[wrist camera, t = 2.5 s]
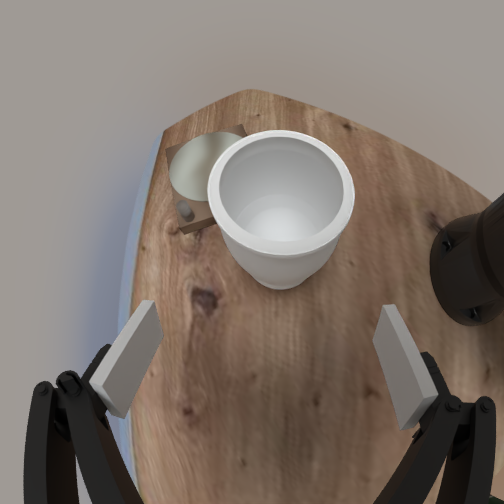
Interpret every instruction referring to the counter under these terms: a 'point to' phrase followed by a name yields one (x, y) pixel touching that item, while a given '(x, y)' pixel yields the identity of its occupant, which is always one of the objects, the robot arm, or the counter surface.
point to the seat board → (197, 175)
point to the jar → (280, 204)
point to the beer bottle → (495, 500)
